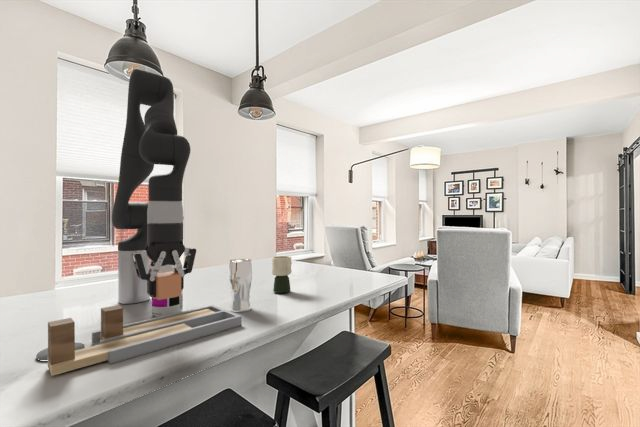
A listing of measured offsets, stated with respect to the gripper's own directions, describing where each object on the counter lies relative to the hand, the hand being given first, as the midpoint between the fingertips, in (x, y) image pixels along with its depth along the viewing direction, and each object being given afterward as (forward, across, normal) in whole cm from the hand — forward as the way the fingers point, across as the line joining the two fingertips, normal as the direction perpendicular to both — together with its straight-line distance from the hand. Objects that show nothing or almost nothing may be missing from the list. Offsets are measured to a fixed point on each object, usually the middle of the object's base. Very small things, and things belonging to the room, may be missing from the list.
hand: (165, 294), depth 75 cm
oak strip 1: (+11, +8, 0) cm, 13 cm away
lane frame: (+11, -2, -3) cm, 11 cm away
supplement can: (+11, -8, -20) cm, 24 cm away
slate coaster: (+11, +18, -9) cm, 23 cm away
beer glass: (+11, -25, -8) cm, 29 cm away
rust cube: (0, 0, 0) cm, 0 cm away
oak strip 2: (+11, -2, -7) cm, 13 cm away
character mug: (+11, -47, -15) cm, 51 cm away
